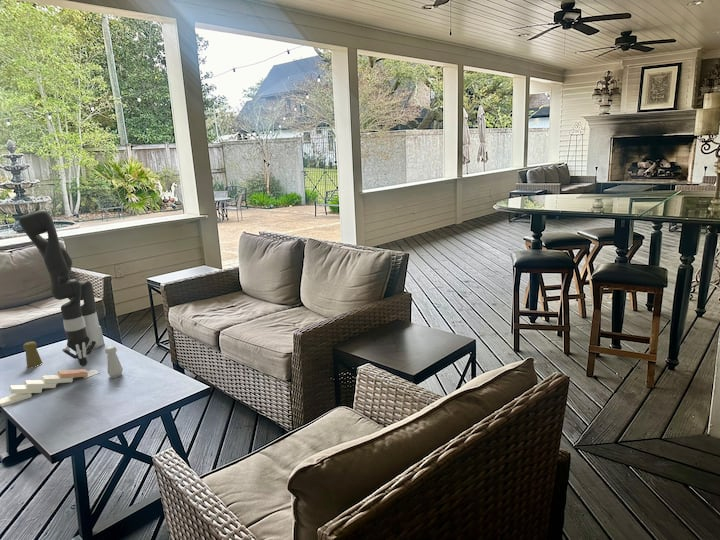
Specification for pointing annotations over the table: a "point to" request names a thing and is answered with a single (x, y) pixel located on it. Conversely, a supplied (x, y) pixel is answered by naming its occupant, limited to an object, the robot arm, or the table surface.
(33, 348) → the cork
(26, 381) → the domino
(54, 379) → the domino
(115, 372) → the salt shaker
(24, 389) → the domino
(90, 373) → the block
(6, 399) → the domino
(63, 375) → the domino
